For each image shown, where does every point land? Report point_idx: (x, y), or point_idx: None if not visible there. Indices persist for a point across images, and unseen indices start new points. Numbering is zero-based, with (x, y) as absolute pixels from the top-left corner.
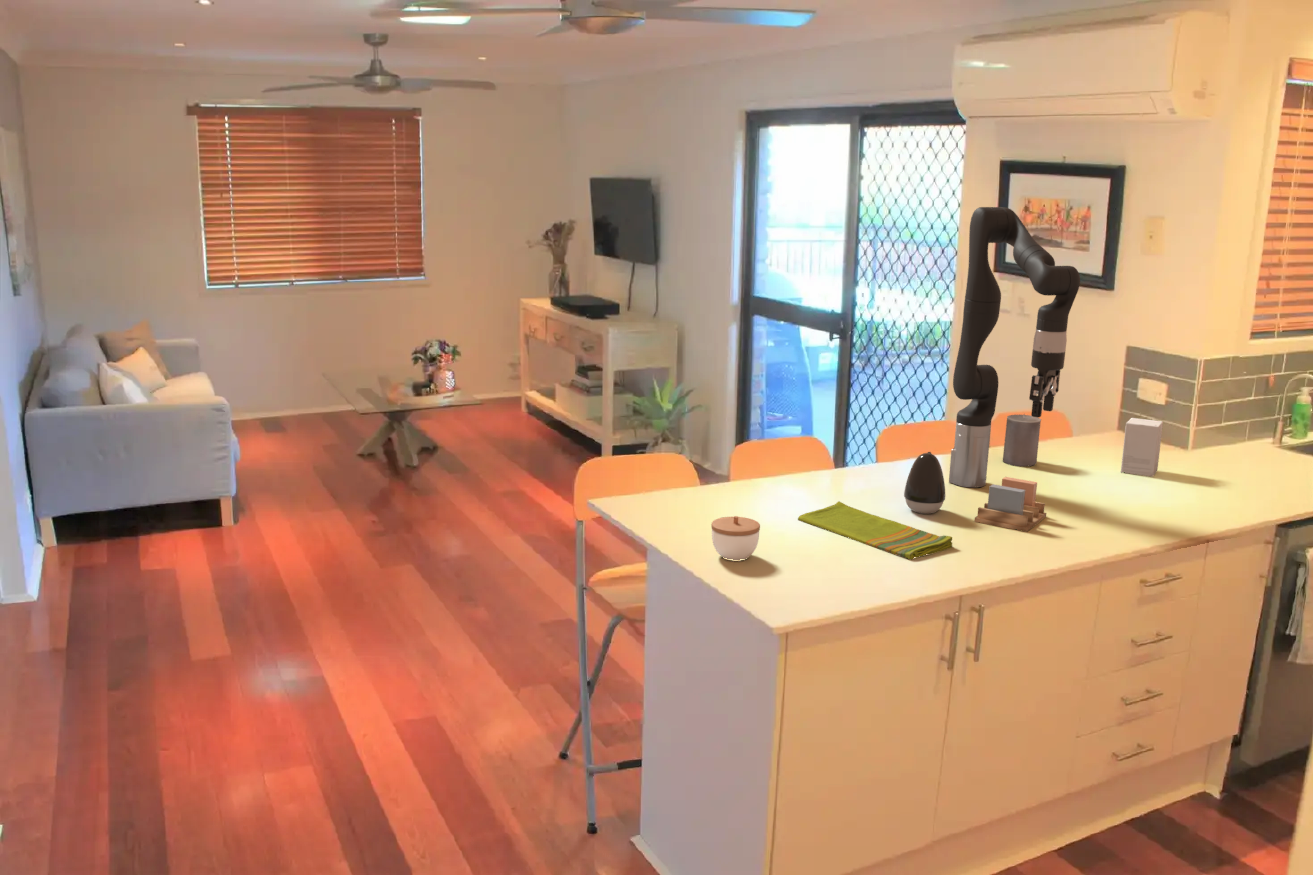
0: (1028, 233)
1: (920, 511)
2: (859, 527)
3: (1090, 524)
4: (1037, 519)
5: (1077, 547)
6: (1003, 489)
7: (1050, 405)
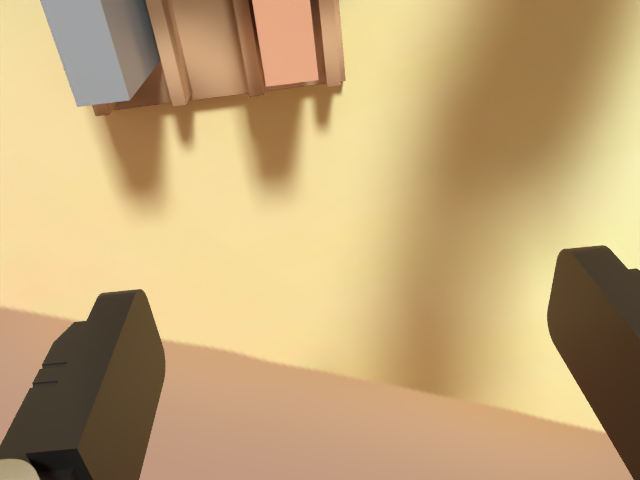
0: None
1: None
2: None
3: (364, 219)
4: (234, 92)
5: (108, 276)
6: (43, 4)
7: (582, 364)
